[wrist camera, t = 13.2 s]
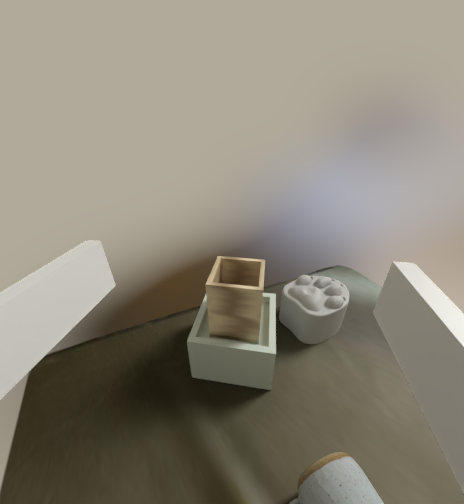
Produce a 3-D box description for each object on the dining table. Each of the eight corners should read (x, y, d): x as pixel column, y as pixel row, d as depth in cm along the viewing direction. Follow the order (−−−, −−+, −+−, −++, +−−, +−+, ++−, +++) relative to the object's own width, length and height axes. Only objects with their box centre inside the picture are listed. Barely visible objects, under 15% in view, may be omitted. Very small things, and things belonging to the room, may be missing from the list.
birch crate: (261, 307, 40) (265, 259, 35) (258, 343, 33) (263, 290, 28) (219, 302, 41) (217, 255, 36) (208, 336, 34) (204, 284, 29)
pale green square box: (271, 326, 45) (275, 293, 41) (270, 390, 34) (276, 354, 30) (210, 318, 47) (207, 286, 43) (190, 377, 36) (185, 341, 32)
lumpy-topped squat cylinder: (272, 314, 48) (276, 281, 44) (314, 294, 54) (321, 263, 50) (309, 350, 40) (318, 315, 36) (354, 322, 46) (366, 289, 42)
